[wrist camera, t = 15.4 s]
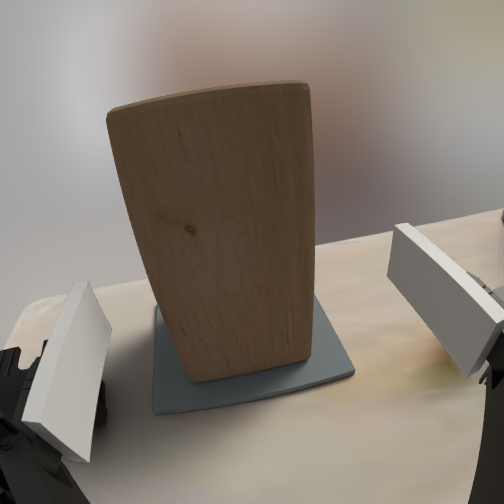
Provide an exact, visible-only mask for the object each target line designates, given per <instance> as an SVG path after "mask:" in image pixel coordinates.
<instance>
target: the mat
mask: <svg viewBox="0 0 504 504" xmlns="http://www.w3.org/2000/svg"><path fill="white" fill-rule="evenodd" d="M354 373H355V368H354V366H353V364H352V362H351V360H350V358H349V357H348V355H347V353H346V351H345V349H344V347H343V345H342V343H341V342H340V340H339V338H338V336H337V334H336V332H335V331H334V329H333V327H332V325H331V323H330V321H329V320H328V318H327V316H326V314H325V312H324V310H323V309H322V307H321V305H320V303H319V301H318V300H317V298H316V296H315V294H314V306H313V329H312V348H311V356H310V358H308V359H307V360H303V361H299V362H296V363H292V364H288V365H284V366H279V367H275V368H271V369H267V370H262V371H258V372H253V373H248V374H244V375H239V376H234V377H228V378H223V379H218V380H212V381H206V382H200V383H191V382H190V381H189V379H188V377H187V375H186V373H185V370H184V368H183V366H182V364H181V361H180V359H179V357H178V354H177V352H176V350H175V347H174V345H173V342H172V340H171V337H170V335H169V332H168V330H167V327H166V325H165V322H164V320H163V317H162V314H161V312H160V309H159V307H157V320H156V334H155V351H154V374H153V412H154V414H155V415H159V414H169V413H178V412H187V411H194V410H201V409H208V408H215V407H221V406H227V405H233V404H238V403H243V402H248V401H253V400H258V399H263V398H268V397H272V396H276V395H281V394H285V393H289V392H293V391H297V390H301V389H305V388H308V387H312V386H316V385H319V384H323V383H326V382H330V381H333V380H336V379H340V378H343V377H346V376H349V375H352V374H354Z"/></svg>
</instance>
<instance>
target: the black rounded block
mask: <svg viewBox="0 0 504 504" xmlns="http://www.w3.org/2000/svg"><path fill="white" fill-rule="evenodd" d="M48 340H49V339H48ZM48 340H44V343H43V348H42V353H41V356H40V357H42V355H43V352H44V350H45V347H46V345H47V342H48ZM20 354H21V349H20V348H19V347H15V348H10V349H6V350H2V351H0V411H1V412H2V413H3V414H4V415H5V416H6V417H7V418H8V419H9V420H10V421H11V422H12V420H13V416H14V413H15V409H16V406H17V403H18V400H19V396H20V393H21V390H23V388H22V387H23V384H24V382H25V381H26V376H27V373H28V370H29V368H28V369H25V370H21V369H19V368H18V362H19V358H20ZM106 420H107V409H106V407H105V386H104V381H103V380H102V379H101V383H100V388H99V394H98V400H97V406H96V412H95V419H94V426H93V431H94V430H100V429H102V428H103V427H104V425H105V424H106Z"/></svg>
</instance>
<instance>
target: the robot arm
mask: <svg viewBox="0 0 504 504" xmlns="http://www.w3.org/2000/svg"><path fill="white" fill-rule="evenodd" d="M502 218H503V221H504V210H503V214H502ZM387 277H388V278H389V279H390V280H391V282H392V283H393V284H394V285H395V286H396V288H397V289H398V290H399V291H400V292H401V294H402V295H403V296H404V297H405V298H406V300H407V301H408V302H409V303H410V304H411V306H412V307H413V308H414V309H415V311H416V312H417V313H418V314H419V316H420V317H421V318H422V319H423V321H424V322H425V323H426V324H427V326H428V327H429V328H430V330H431V331H432V332H433V334H434V335H435V336H436V337H437V339H438V340H439V341H440V343H441V344H442V345H443V347H444V348H445V349H446V351H447V352H448V353H449V355H450V356H451V358H452V359H453V360H454V362H455V363H456V364H457V366H458V367H459V369H460V370H461V371H462V373H463V374H464V376H465V377H466V378H467V377H469V376H470V375H472V374H473V373H475V372H477V371H479V370H480V368H481V367H482V365H483V363H484V362H485V360H487V361H488V362H489V366H488V367H487V369H486V371H485V372H484V374H483V375H482V377H481V378H480V380H479V384H481V383H482V382H483V380H484V379H485V377H487V379H486V382H485V384H484V385H486V400H485V412H484V422H483V431H482V438H481V445H480V451H479V457H478V463H477V468H476V473H475V477H474V482H473V486H472V490H471V494H470V498H469V501H468V504H504V302H503V301H502V300H501V299H500V298H499V297H498V296H497V295H496V294H495V293H493V292H492V290H491V289H490V288H489V287H486V285H485V284H484V283H483V282H482V281H481V280H480V279H479V278H478V277H476V276H474V275H473V274H471V273H469V272H465V271H464V270H463V269H462V268H460V267H459V266H458V265H457V264H456V263H455V262H454V261H453V260H452V259H450V258H449V257H448V256H447V255H446V254H445V253H444V252H442V251H441V250H440V249H439V248H438V247H437V246H435V245H434V244H433V243H432V242H431V241H430V240H428V239H427V238H426V237H425V236H423V235H422V234H421V233H420V232H419V231H417V230H416V229H415V228H414V227H412V226H411V225H410V224H408V223H403V224H397V225H394V231H393V239H392V246H391V253H390V260H389V266H388V272H387ZM111 331H112V328H111V326H110V324H109V322H108V320H107V318H106V316H105V315H104V313H103V311H102V309H101V307H100V304H99V302H98V300H97V298H96V296H95V294H94V292H93V290H92V288H91V285H90V283H89V281H85V282H79V283H74V284H73V285H72V287H71V289H70V292H69V294H68V296H67V298H66V300H65V302H64V304H63V307H62V309H61V311H60V313H59V316H58V318H57V320H56V323H55V325H54V327H53V330H52V332H51V335H50V337H49V340H48V342H47V345H46V347H45V350H44V352H43V355H42V357H37V358H36V359H35V361H34V362H33V363H32V365H31V366H30V368H29V370H28V373H27V376H26V381H25V382H24V384H23V387H22V388H23V390H21V393H20V396H19V400H18V403H17V406H16V409H15V413H14V416H13V420H12V422H11V421H10V420H9V419H8V418H7V417H6V416H5V415H4V414H3V413H2V412H1V411H0V504H90V503H89V501H88V500H87V498H86V497H85V495H84V494H83V493H82V491H81V490H80V488H79V487H78V485H77V484H76V482H75V480H74V479H73V477H72V476H71V474H70V472H69V471H68V469H67V468H66V466H65V465H64V464H63V463H62V462H61V456H62V455H64V456H65V457H66V458H68V459H69V460H70V461H75V462H86V463H89V460H90V451H91V442H92V434H93V426H94V419H95V412H96V406H97V400H98V394H99V388H100V383H101V378H102V373H103V368H104V363H105V358H106V353H107V349H108V344H109V340H110V336H111Z"/></svg>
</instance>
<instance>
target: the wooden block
mask: <svg viewBox="0 0 504 504" xmlns="http://www.w3.org/2000/svg"><path fill="white" fill-rule="evenodd" d="M106 123H107V129H108V134H109V138H110V143H111V147H112V152H113V156H114V161H115V165H116V169H117V174H118V178H119V182H120V185H121V189H122V193H123V197H124V201H125V204H126V208H127V212H128V215H129V219H130V222H131V226H132V229H133V232H134V235H135V239H136V242H137V245H138V248H139V252H140V255H141V257H142V261H143V264H144V267H145V270H146V273H147V276H148V279H149V282H150V284H151V287H152V290H153V293H154V296H155V298H156V301H157V304H158V307H159V309H160V312H161V314H162V317H163V320H164V322H165V325H166V327H167V330H168V332H169V335H170V337H171V340H172V342H173V345H174V347H175V350H176V352H177V354H178V357H179V359H180V361H181V364H182V366H183V368H184V370H185V373H186V375H187V377H188V379H189V381H190V382H191V383H200V382H206V381H212V380H218V379H223V378H228V377H234V376H239V375H244V374H248V373H253V372H258V371H262V370H267V369H271V368H275V367H279V366H284V365H288V364H292V363H296V362H299V361H303V360H307V359H308V358H310V356H311V348H312V329H313V306H314V272H315V191H314V190H315V189H314V156H313V134H312V133H313V132H312V115H311V100H310V89H309V86H308V84H307V83H306V82H304V81H301V80H288V81H270V82H257V83H246V84H236V85H228V86H220V87H213V88H206V89H200V90H194V91H188V92H182V93H177V94H172V95H167V96H162V97H157V98H152V99H148V100H144V101H140V102H136V103H131V104H128V105H124V106H120V107H117V108H114V109H112V110H111V111H109V112H108V113H107V118H106Z"/></svg>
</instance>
